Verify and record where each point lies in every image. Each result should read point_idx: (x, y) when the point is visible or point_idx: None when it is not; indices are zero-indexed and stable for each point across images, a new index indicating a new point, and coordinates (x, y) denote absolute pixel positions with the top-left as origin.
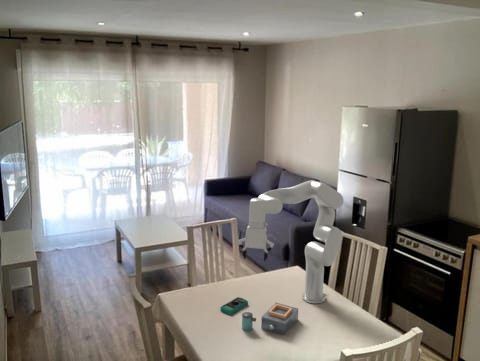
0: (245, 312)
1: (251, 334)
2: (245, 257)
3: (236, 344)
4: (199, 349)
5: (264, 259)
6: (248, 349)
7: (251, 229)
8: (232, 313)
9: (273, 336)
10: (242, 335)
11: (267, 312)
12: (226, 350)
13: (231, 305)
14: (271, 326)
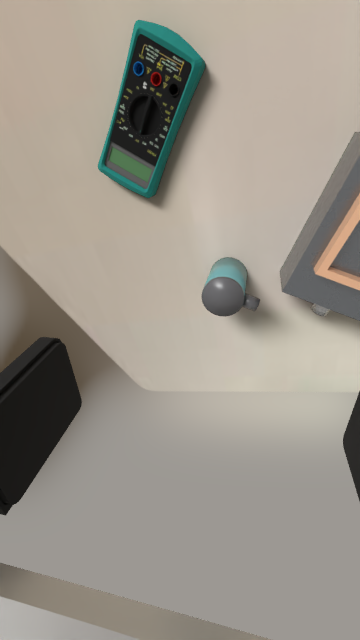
0: (212, 284)
1: None
2: (72, 408)
3: (209, 352)
4: (130, 371)
5: (356, 466)
6: (244, 369)
7: None
8: (156, 189)
9: None
10: None
11: (310, 253)
12: (190, 373)
13: (135, 143)
14: (320, 315)
